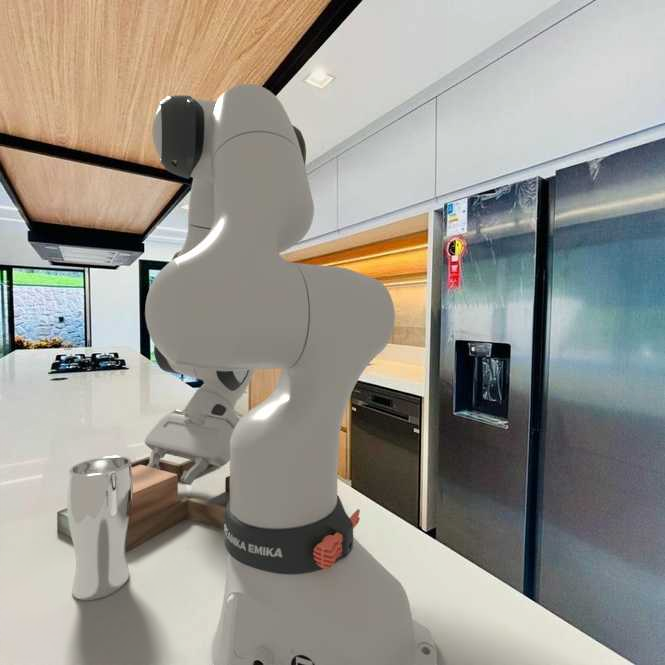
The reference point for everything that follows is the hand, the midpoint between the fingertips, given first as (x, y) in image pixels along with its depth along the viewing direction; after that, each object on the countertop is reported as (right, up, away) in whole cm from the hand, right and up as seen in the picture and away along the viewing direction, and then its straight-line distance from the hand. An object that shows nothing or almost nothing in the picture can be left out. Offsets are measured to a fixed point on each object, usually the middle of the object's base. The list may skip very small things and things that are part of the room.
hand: (166, 478), depth 68 cm
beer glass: (+1, -5, -21) cm, 22 cm away
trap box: (+1, -5, +2) cm, 5 cm away
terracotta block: (-3, -5, -6) cm, 8 cm away
